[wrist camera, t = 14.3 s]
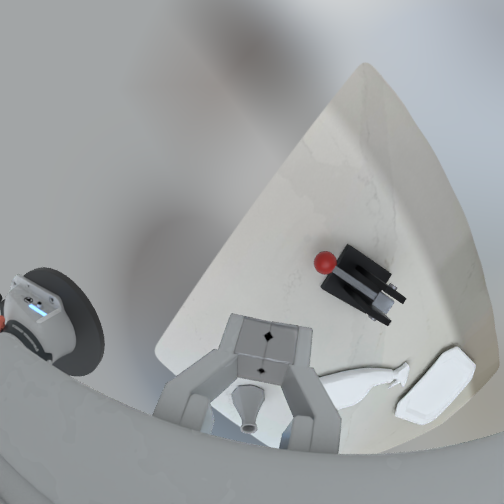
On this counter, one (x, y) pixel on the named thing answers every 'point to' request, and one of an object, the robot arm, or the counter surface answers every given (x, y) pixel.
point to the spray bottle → (360, 383)
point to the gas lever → (351, 280)
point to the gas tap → (367, 275)
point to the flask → (248, 406)
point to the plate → (437, 387)
